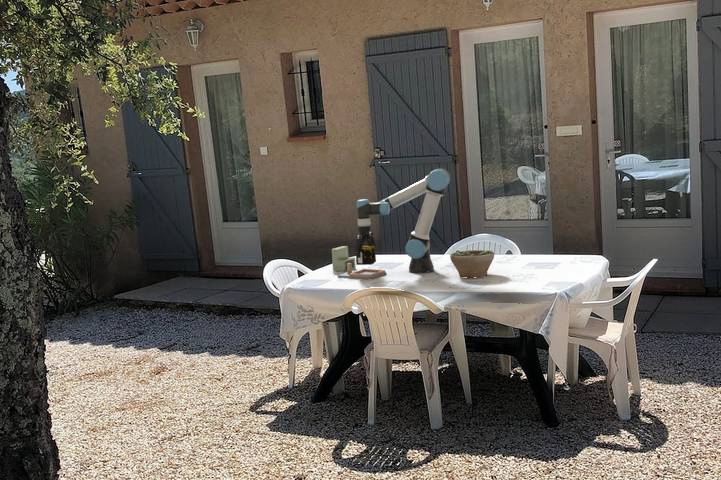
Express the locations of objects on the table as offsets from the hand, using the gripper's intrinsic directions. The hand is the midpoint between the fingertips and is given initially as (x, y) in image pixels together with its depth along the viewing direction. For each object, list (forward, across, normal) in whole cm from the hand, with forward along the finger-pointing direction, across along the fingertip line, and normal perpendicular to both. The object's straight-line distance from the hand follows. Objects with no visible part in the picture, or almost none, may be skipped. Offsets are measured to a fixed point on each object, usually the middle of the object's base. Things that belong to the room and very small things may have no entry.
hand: (366, 261), depth 470 cm
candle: (+2, 0, 0) cm, 2 cm away
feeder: (+9, -14, -27) cm, 32 cm away
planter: (+9, -20, +61) cm, 65 cm away
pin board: (+9, 0, -4) cm, 10 cm away
